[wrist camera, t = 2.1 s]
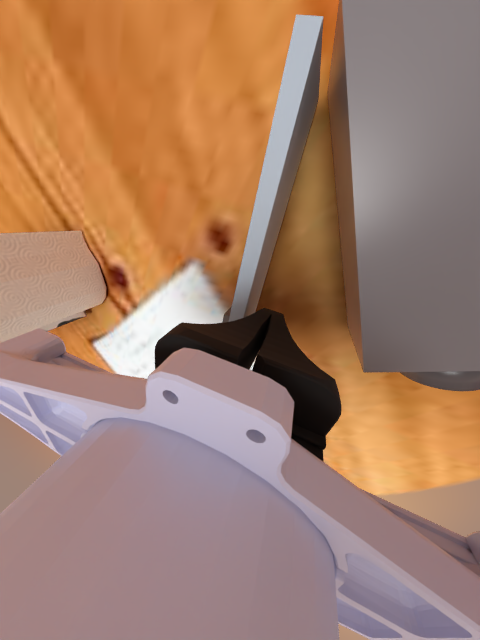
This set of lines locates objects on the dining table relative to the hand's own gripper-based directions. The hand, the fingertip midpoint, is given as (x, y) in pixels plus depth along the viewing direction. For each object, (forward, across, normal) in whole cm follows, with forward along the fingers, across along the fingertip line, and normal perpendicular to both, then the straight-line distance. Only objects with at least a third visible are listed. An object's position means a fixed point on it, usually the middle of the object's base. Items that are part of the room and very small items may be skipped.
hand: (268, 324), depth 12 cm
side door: (+3, +2, -4) cm, 6 cm away
